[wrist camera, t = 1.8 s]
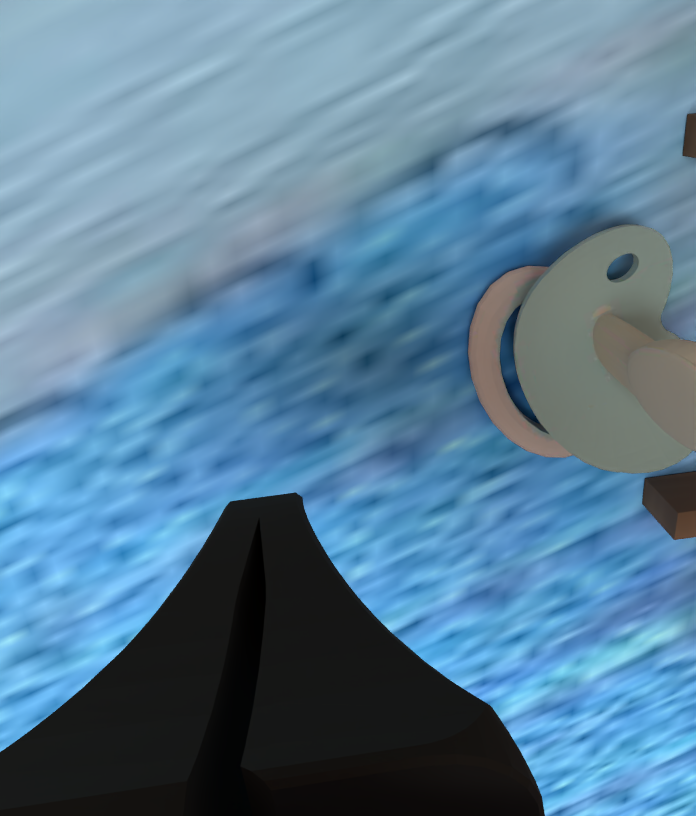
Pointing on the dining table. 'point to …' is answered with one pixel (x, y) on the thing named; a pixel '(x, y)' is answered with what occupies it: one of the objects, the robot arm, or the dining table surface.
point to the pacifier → (591, 356)
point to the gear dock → (687, 492)
